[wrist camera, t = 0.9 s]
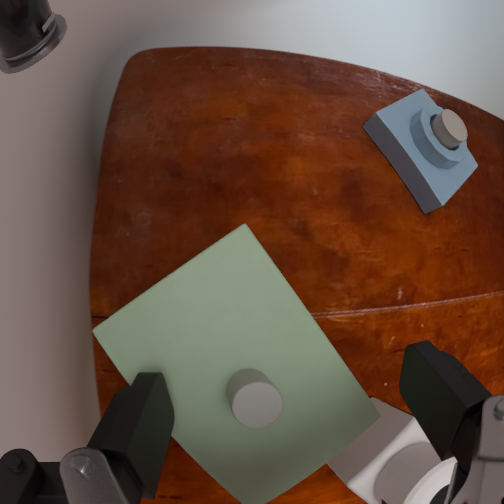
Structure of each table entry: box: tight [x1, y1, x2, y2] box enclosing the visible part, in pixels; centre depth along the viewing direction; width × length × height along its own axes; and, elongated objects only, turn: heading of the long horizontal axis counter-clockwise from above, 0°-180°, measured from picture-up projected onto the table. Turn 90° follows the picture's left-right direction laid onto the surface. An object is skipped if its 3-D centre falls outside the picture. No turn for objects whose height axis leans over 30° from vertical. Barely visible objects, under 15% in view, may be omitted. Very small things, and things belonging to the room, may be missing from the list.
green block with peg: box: [92, 224, 381, 504], centre depth 16 cm, size 10×7×15 cm
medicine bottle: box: [327, 397, 457, 504], centre depth 17 cm, size 7×7×12 cm
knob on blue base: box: [363, 89, 478, 214], centre depth 27 cm, size 11×10×5 cm
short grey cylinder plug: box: [431, 109, 467, 149], centre depth 24 cm, size 4×4×2 cm
